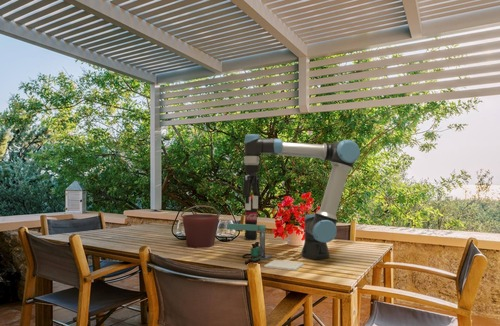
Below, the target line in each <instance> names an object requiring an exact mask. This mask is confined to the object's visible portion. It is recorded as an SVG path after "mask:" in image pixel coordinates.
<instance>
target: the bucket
mask: <svg viewBox="0 0 500 326" xmlns="http://www.w3.org/2000/svg"><path fill="white" fill-rule="evenodd" d="M199 207H201V208H203V207H204V208H209V209H213V210H214V212H215V213H216V214H213V213H211V214H210V213H197V214H196V213H193V214H184V213H186V212H187V211H189V210H191V209H193V208H194V209H195V208H199ZM220 216H221V212H220V211H218V210H217V209H216V208H215V207H214V206H210V205H194V206H191V207H189V208H187V209H185V210H184V211H182V213H181V214H180V217H181V218H182V223H183V230H184V234H185V235H184V236H185V243H186V247H187V248H194V249H203V248H204V249H206V248H210V247H213V246H214V245H215V241H216V236H217V230H218V225H219V221H220Z"/></svg>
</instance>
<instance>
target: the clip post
mask: <svg viewBox="0 0 500 326" xmlns="http://www.w3.org/2000/svg"><path fill="white" fill-rule="evenodd" d="M259 246H260V251H261V258H260V260H261V261H262V260H263V261H268V260H269V259H271V258H272V257H273V255H271V254H266V231H259Z"/></svg>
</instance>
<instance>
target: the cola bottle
mask: <svg viewBox="0 0 500 326" xmlns="http://www.w3.org/2000/svg"><path fill="white" fill-rule="evenodd" d="M253 196H254V195H250V197H251V210H245V209H244V224H251V225H258V224H257V223H258V209H255V208H253ZM244 231H245V232H244V238H245V240H248V241H254V240H257V238H258V231H250V230H244Z"/></svg>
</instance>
